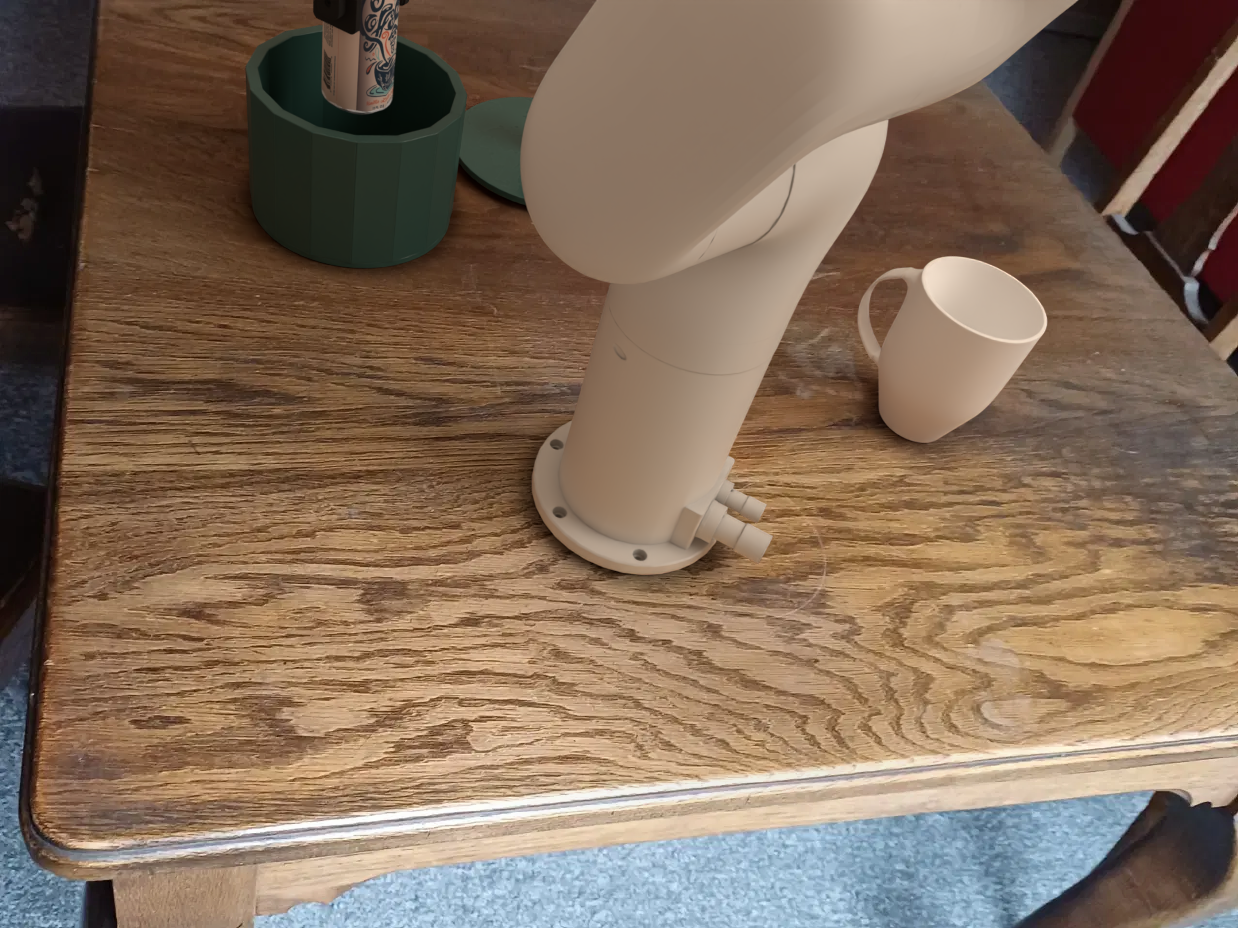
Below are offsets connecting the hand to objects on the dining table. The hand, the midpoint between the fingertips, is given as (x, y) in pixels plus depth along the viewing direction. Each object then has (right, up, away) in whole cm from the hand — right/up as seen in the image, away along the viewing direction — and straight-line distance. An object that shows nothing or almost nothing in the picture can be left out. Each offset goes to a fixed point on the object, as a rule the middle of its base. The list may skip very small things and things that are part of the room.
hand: (362, 8), depth 70 cm
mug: (+37, -26, +10) cm, 46 cm away
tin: (-3, -10, +11) cm, 16 cm away
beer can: (-2, -5, +5) cm, 7 cm away
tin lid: (+10, -4, +21) cm, 23 cm away
